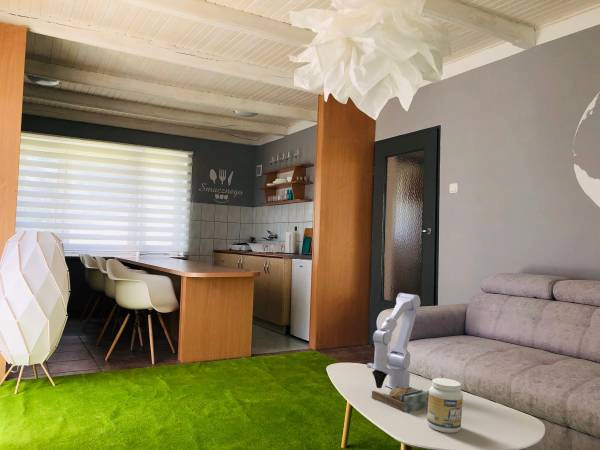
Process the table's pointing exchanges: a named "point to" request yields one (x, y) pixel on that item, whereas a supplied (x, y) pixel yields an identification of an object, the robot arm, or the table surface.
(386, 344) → the robot arm
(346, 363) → the table surface
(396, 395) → the bread roll
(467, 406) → the table surface
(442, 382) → the supplement tub
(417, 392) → the pusher plate
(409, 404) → the brown wooden tray
